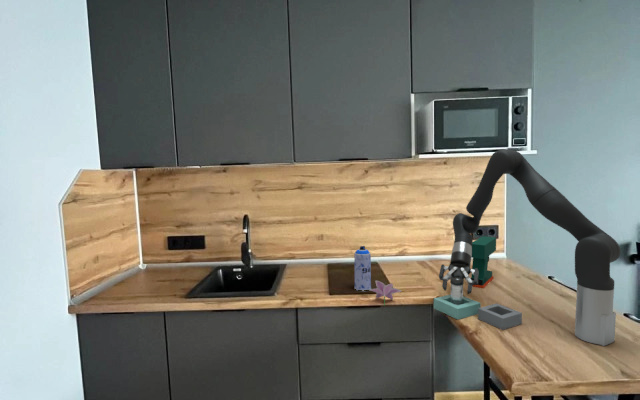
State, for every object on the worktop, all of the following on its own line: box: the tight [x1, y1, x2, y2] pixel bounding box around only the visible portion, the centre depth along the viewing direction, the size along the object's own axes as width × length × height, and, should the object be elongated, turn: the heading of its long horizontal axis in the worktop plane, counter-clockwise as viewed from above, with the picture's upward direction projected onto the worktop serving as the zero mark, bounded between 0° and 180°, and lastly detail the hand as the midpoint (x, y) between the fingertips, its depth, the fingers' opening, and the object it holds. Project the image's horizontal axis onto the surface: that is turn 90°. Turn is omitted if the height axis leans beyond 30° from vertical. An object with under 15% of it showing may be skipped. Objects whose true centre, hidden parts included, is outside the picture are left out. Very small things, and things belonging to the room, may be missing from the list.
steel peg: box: [449, 276, 465, 305], centre depth 134 cm, size 5×5×13 cm
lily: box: [369, 280, 403, 306], centre depth 144 cm, size 12×12×10 cm
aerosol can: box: [353, 245, 372, 292], centre depth 161 cm, size 8×8×20 cm
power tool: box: [470, 235, 497, 289], centre depth 172 cm, size 32×7×20 cm, turn 141°
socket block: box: [477, 302, 523, 331], centre depth 124 cm, size 10×10×4 cm
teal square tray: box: [433, 293, 482, 320], centre depth 134 cm, size 12×12×4 cm
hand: (456, 291), depth 133 cm, fingers open, 8 cm apart
